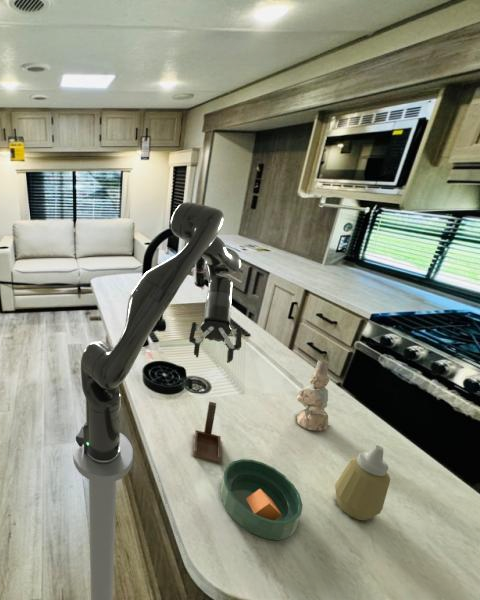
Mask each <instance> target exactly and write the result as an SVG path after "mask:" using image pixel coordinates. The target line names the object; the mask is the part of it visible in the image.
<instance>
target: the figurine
mask: <svg viewBox="0 0 480 600" xmlns="http://www.w3.org/2000/svg"><path fill="white" fill-rule="evenodd" d="M329 367H330V363H329V362H328V361H327V362H326V361H323V360H317V363H316V365H315V368H314V371H313V372H312V373H311V379H310V380H309V384H308V385H307V386H305V387H304V388H303V389H301V390H299V391H298V396H297V397H296V399H297V402H298V403H300V404H301V405H302V406H303V407H304V408H302V409H301V411H299V415H297V417H296V419H297V420H296V421H297V424H298V425H299V426H300V427H302V428H304V429H307V430H309V431H325V430H329V429H330V428H331V425H330V423H329V415H328V413H327V412H326V410H325V409H326V408H327V407H328V401H329V390H328V388H326V387H327V386H328V384H329V382H330V378H329V377H328V373H329Z"/></svg>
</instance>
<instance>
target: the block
mask: <svg viewBox="0 0 480 600" xmlns="http://www.w3.org/2000/svg"><path fill="white" fill-rule="evenodd" d="M246 500H247V502H248V504H249V505H250V507H251V509H252V511H253V513H255V514H256V515H258V516H260V517H263V518H266V519H269V520H276V519H278V518H279V517H281V516H282V514H281V513H280V511H279V510H278V508H277V507H276V505H275V504H274V502H273V501H272V499H271V498H270V497H269V496H267V495H266V494H265V493H264V492H263V491H262V490H261V489H259V490H257V491H256V492H254V493H253V494H252V495H250V496H249V497H248V498H246Z"/></svg>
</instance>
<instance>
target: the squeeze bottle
mask: <svg viewBox="0 0 480 600" xmlns="http://www.w3.org/2000/svg"><path fill="white" fill-rule="evenodd" d="M388 471H389V465H388V463H387V462H386V461H385V460H384V448H383V446H380V445H375V446H374V447H373V448H372V449H371V450H370V451H369V452H366V451H362V452H360V453H359V454H358V456H356V457H352V458H351V459H350V460H349V462H348V463H347V465H346V466H345V468H344V470H343V471H342V473H341V474H340V476H339V478H338V479H337V480H336V482H335V484H334V489H335V497H336V503H337V505H338V506H339V508H340V509H341V510H342V511H343V512H344V513H345V514H347V515H348V516H350V517H351V518H354V519H356V520H358V521H367V520H370V519H372V518H374V517H375V516H377V515H379V514H381V512H382V510H383V508H384V504H385V501H386V498H387V494H388V490H389V486H390V483H391V477H390V474H389V473H388Z"/></svg>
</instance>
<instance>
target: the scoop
mask: <svg viewBox="0 0 480 600" xmlns="http://www.w3.org/2000/svg"><path fill="white" fill-rule="evenodd" d="M207 405H208V407H207V412H206V417H205V424H204V431H201V430H197V429H195V432H194V439H193V441H194V442H193V453H192V454H193V457H195V458H198V459H203V460H205V461H210V462H212V463H216V464H221V460H222V445H221V444H222V443H221V442H222V438H221V435H217V434H214V433H213V427H214V422H215V421H214V420H215V415H216V409H217V402H213V401H208V404H207Z"/></svg>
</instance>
